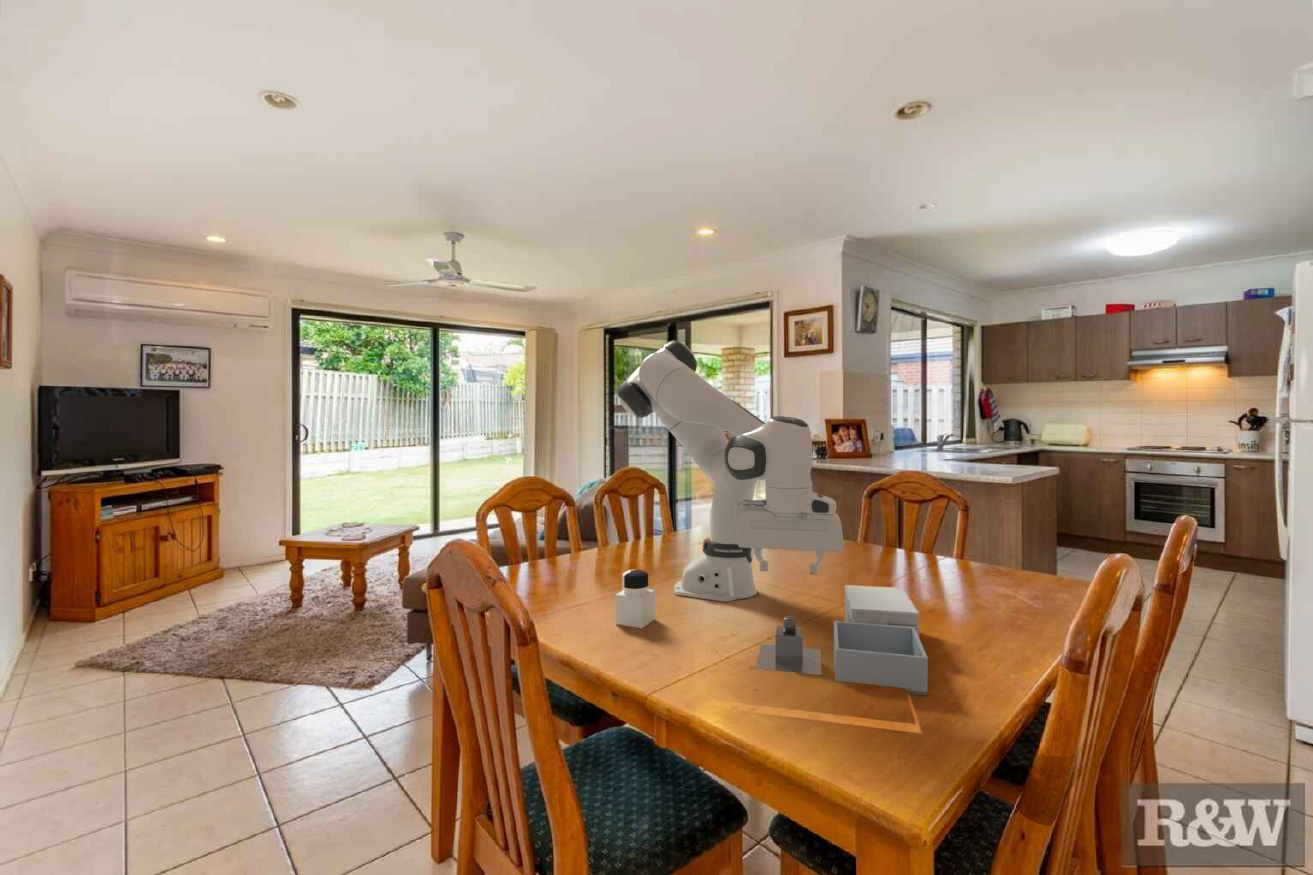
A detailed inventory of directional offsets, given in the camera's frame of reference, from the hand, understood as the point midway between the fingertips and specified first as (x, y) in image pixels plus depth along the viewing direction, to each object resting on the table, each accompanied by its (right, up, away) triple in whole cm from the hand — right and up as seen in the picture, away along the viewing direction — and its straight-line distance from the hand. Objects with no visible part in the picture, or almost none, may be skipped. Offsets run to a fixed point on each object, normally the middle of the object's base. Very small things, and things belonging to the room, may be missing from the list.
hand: (788, 572), depth 117 cm
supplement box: (+22, -18, +13) cm, 32 cm away
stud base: (0, -18, +1) cm, 18 cm away
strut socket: (0, -17, +1) cm, 17 cm away
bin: (+16, -18, -3) cm, 24 cm away
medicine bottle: (-30, -17, +25) cm, 43 cm away
